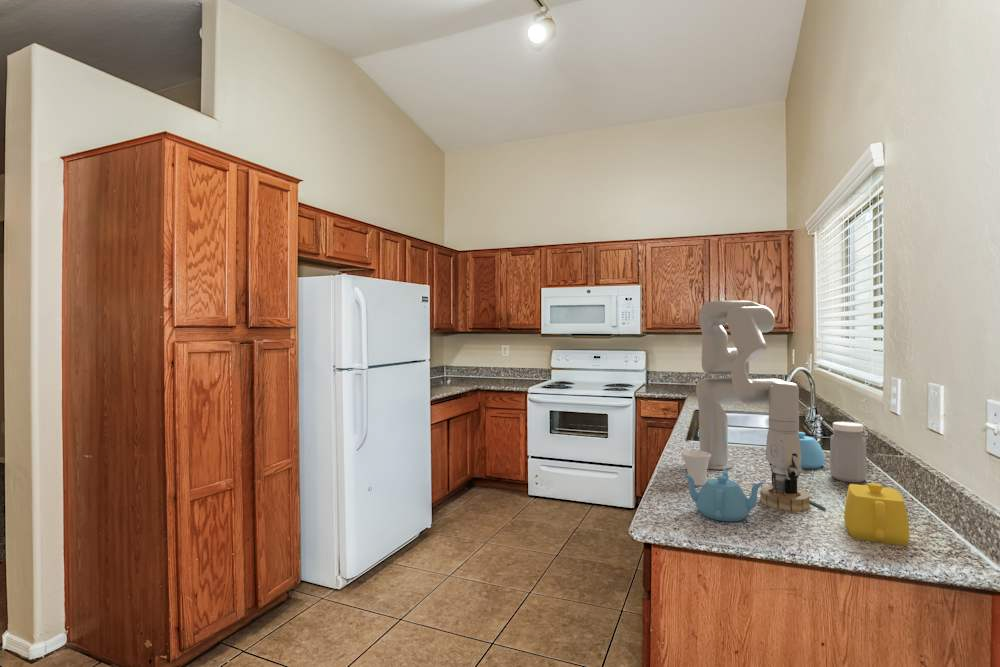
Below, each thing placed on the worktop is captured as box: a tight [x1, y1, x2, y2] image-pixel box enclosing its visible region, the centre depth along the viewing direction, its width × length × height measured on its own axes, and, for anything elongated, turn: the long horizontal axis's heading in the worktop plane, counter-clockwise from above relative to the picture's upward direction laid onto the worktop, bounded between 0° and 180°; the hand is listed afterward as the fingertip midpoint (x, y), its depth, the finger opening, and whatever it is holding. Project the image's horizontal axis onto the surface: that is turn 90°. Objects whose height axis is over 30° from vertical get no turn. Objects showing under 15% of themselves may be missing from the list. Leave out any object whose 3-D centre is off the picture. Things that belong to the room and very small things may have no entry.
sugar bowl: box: [798, 431, 826, 470], centre depth 189 cm, size 15×15×12 cm
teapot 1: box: [682, 469, 765, 523], centre depth 139 cm, size 15×15×10 cm
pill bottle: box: [772, 466, 796, 497], centre depth 147 cm, size 6×6×10 cm
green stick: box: [809, 499, 827, 511], centre depth 147 cm, size 13×1×1 cm, turn 2°
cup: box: [681, 449, 711, 487], centre depth 166 cm, size 9×9×10 cm
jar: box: [829, 421, 868, 483], centre depth 170 cm, size 10×10×18 cm
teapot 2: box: [843, 482, 910, 547], centre depth 126 cm, size 20×12×12 cm, turn 151°
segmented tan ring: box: [759, 485, 810, 512], centre depth 147 cm, size 12×12×3 cm
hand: (784, 489), depth 147 cm, fingers closed on pill bottle, 5 cm apart
